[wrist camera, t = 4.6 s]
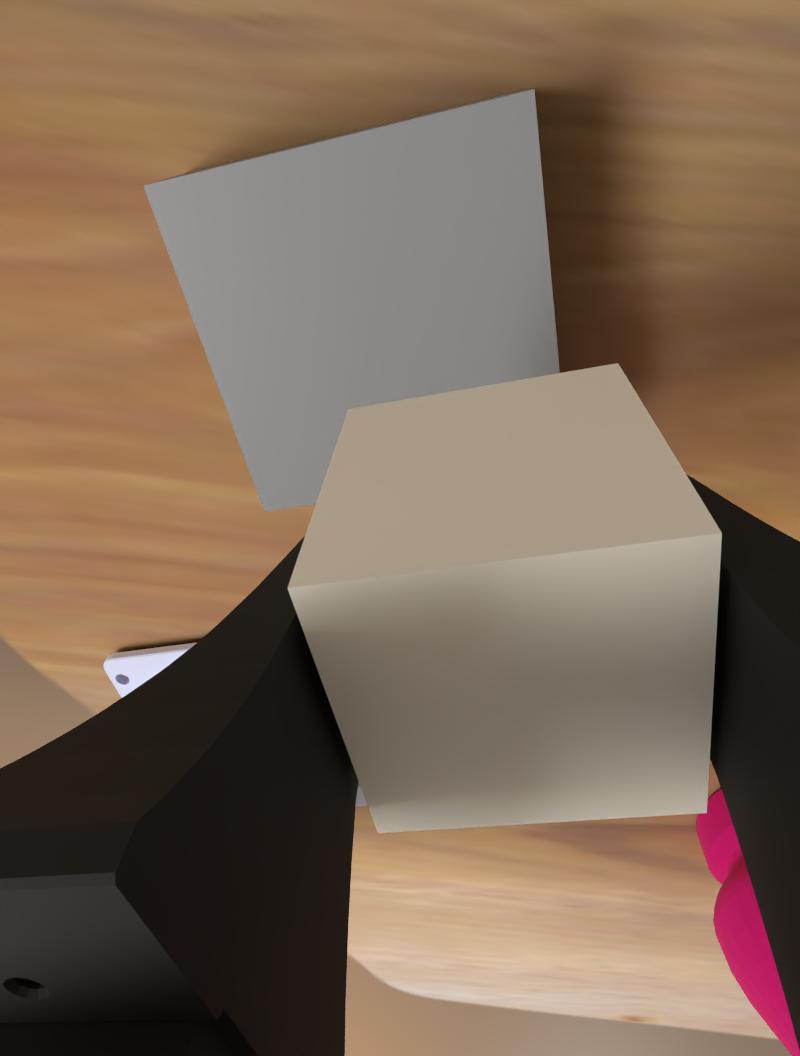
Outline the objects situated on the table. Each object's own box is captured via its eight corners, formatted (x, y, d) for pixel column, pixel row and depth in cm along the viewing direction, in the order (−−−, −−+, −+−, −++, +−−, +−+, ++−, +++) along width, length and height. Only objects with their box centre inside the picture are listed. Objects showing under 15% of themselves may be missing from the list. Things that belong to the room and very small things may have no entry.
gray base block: (553, 416, 19) (568, 465, 17) (287, 460, 21) (264, 511, 18) (521, 90, 15) (534, 88, 13) (190, 171, 16) (143, 185, 14)
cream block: (626, 583, 13) (706, 813, 9) (400, 610, 14) (377, 833, 10) (618, 363, 11) (722, 533, 7) (348, 409, 12) (287, 588, 7)
